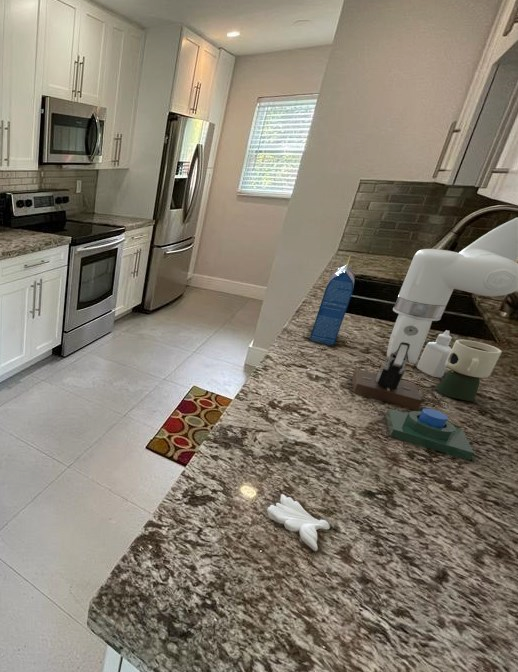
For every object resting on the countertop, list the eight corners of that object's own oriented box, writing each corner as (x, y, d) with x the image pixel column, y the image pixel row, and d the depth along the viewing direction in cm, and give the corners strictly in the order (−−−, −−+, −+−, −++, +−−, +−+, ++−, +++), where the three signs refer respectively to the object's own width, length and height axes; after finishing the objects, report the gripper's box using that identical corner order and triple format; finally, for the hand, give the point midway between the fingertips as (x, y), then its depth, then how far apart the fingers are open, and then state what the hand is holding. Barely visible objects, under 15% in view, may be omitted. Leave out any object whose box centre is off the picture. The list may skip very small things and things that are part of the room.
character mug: (432, 382, 101) (454, 334, 97) (473, 393, 97) (499, 343, 92) (432, 399, 94) (456, 347, 89) (477, 412, 89) (505, 359, 85)
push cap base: (457, 437, 80) (465, 420, 79) (469, 463, 74) (479, 444, 72) (384, 417, 86) (391, 400, 85) (389, 438, 80) (397, 421, 78)
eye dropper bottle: (419, 375, 105) (438, 332, 100) (414, 366, 109) (433, 325, 105) (442, 380, 102) (463, 336, 98) (437, 371, 107) (456, 329, 102)
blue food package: (307, 341, 122) (334, 259, 113) (312, 330, 131) (337, 253, 122) (333, 348, 118) (363, 264, 109) (336, 336, 127) (363, 257, 118)
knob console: (410, 394, 95) (415, 382, 94) (416, 412, 88) (422, 399, 87) (351, 379, 101) (355, 368, 100) (352, 394, 94) (357, 383, 93)
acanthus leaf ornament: (314, 555, 55) (319, 545, 54) (260, 521, 60) (263, 511, 59) (332, 526, 60) (336, 516, 59) (280, 497, 64) (283, 487, 64)
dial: (376, 377, 96) (384, 359, 95) (399, 384, 94) (407, 365, 92) (374, 382, 94) (381, 364, 92) (396, 389, 91) (405, 370, 89)
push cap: (441, 421, 79) (446, 412, 78) (445, 430, 76) (450, 421, 76) (416, 415, 81) (420, 406, 80) (419, 423, 78) (424, 414, 78)
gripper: (444, 323, 79) (407, 403, 86) (441, 303, 90) (409, 376, 97) (393, 312, 84) (362, 390, 90) (396, 295, 95) (369, 365, 102)
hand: (387, 382), depth 94 cm, fingers closed on dial, 4 cm apart
